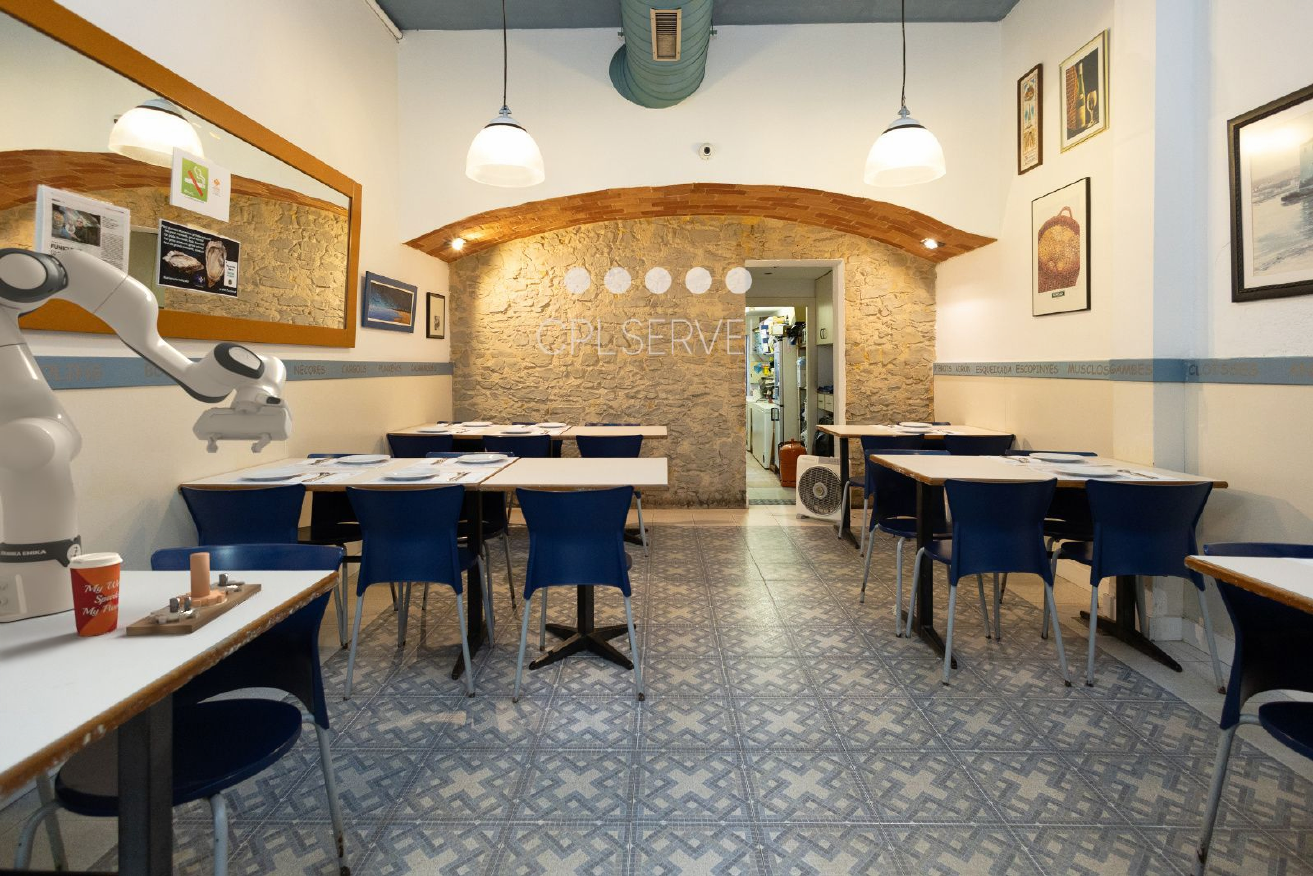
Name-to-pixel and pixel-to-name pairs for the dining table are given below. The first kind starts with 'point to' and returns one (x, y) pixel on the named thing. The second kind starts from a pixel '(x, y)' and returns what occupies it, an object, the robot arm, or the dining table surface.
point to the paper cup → (95, 592)
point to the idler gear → (202, 583)
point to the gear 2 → (227, 585)
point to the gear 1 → (175, 612)
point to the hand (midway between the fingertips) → (233, 451)
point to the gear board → (196, 623)
